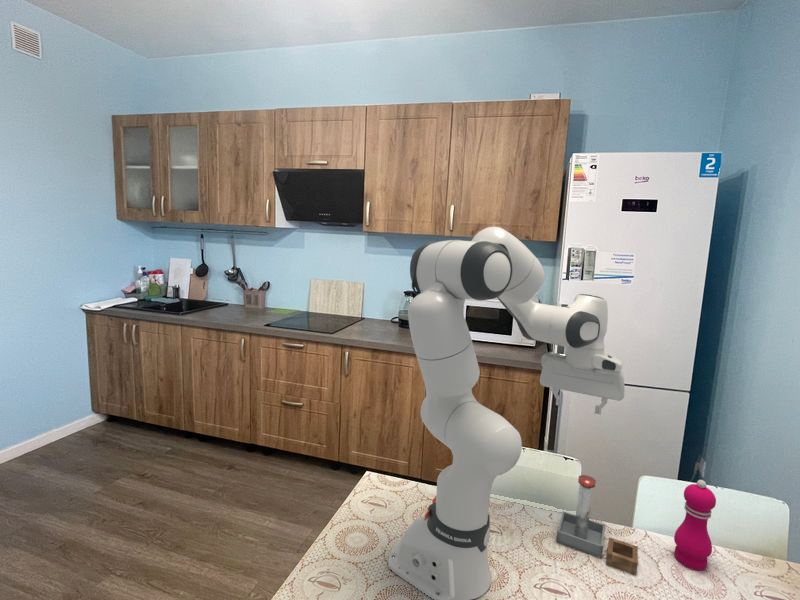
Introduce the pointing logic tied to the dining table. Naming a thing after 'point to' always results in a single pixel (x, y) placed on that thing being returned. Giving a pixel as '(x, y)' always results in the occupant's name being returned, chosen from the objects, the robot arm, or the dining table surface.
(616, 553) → the socket block
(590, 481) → the pin
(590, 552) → the tray
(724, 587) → the dining table surface
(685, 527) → the pepper mill
